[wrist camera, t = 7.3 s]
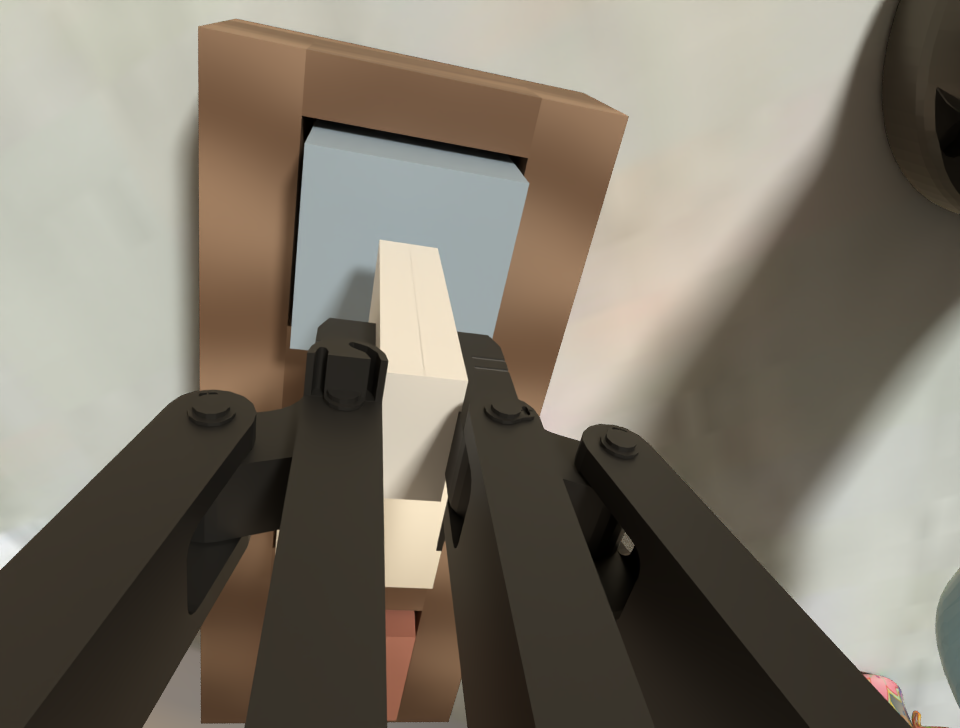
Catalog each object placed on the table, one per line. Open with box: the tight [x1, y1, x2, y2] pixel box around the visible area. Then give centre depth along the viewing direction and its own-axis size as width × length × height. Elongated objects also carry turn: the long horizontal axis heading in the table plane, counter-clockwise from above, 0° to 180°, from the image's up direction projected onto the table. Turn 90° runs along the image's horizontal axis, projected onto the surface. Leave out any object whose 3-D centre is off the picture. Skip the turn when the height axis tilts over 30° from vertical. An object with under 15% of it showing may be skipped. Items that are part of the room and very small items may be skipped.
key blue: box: [290, 119, 529, 350], centre depth 20 cm, size 6×6×4 cm
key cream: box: [275, 481, 448, 589], centre depth 25 cm, size 6×6×4 cm
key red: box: [385, 610, 416, 721], centre depth 30 cm, size 6×6×4 cm
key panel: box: [198, 19, 629, 723], centre depth 27 cm, size 30×12×5 cm, turn 168°
